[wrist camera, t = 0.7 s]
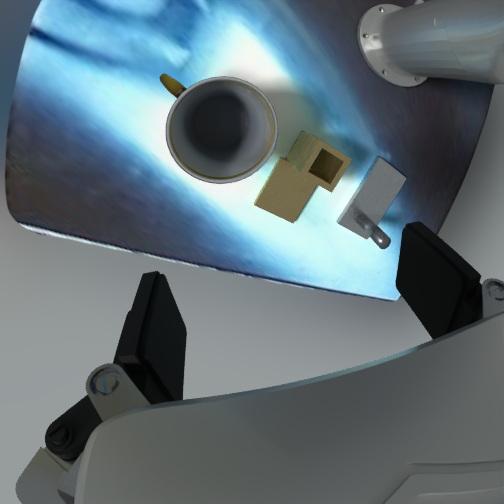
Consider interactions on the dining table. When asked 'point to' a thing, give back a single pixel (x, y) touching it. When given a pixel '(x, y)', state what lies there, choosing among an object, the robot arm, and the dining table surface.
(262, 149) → the ceramic cup
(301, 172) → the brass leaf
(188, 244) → the dining table surface
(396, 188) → the steel leaf with pin
